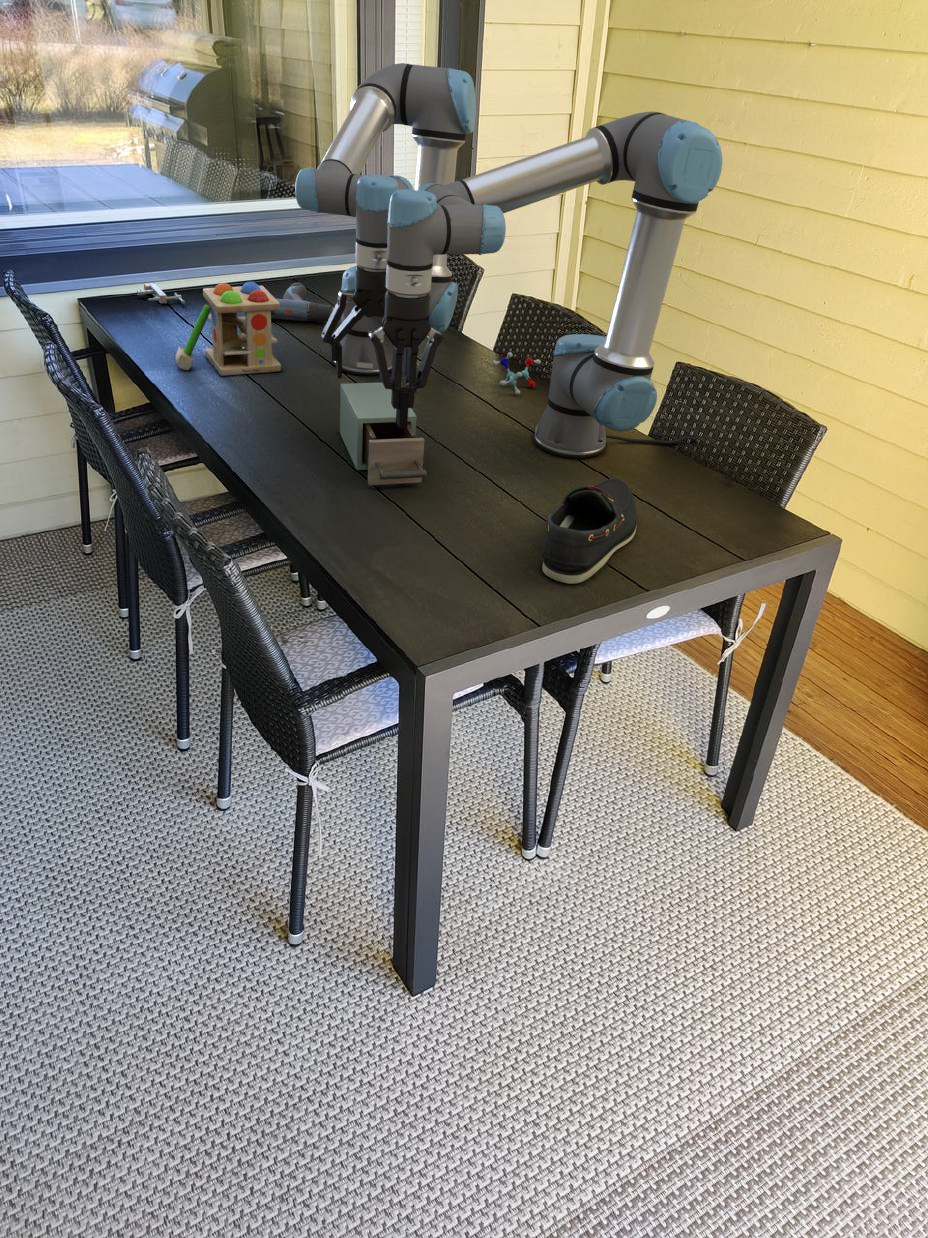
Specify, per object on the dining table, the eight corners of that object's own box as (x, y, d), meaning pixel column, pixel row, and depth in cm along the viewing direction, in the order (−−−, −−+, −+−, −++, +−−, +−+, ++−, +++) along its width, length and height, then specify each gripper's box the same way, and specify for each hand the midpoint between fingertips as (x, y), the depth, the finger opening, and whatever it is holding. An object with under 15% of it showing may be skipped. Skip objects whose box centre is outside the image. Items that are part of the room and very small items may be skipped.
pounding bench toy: (183, 379, 220) (176, 299, 210) (169, 357, 231) (162, 280, 221) (282, 371, 230) (280, 294, 220) (264, 350, 240) (262, 276, 230)
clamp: (132, 284, 268) (169, 281, 272) (133, 292, 269) (170, 289, 273) (148, 300, 257) (185, 297, 262) (148, 309, 259) (186, 306, 263)
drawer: (429, 496, 182) (432, 453, 177) (375, 499, 179) (377, 456, 174) (401, 446, 199) (403, 405, 194) (352, 448, 196) (352, 407, 191)
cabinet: (413, 467, 194) (416, 416, 188) (356, 470, 190) (357, 418, 184) (393, 430, 207) (395, 382, 201) (339, 432, 204) (340, 383, 198)
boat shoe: (659, 521, 184) (668, 470, 179) (580, 590, 160) (587, 533, 155) (597, 502, 190) (604, 452, 184) (512, 566, 166) (517, 511, 160)
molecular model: (536, 387, 225) (523, 344, 224) (499, 400, 229) (485, 359, 227) (549, 385, 235) (536, 345, 234) (513, 399, 239) (500, 359, 238)
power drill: (344, 304, 276) (335, 327, 259) (277, 298, 275) (264, 321, 258) (344, 285, 273) (335, 306, 256) (277, 279, 272) (264, 300, 255)
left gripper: (312, 272, 177) (313, 384, 189) (444, 272, 184) (437, 379, 196) (305, 260, 183) (307, 369, 195) (434, 260, 190) (427, 366, 202)
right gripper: (374, 298, 158) (370, 434, 171) (452, 298, 161) (441, 431, 175) (364, 284, 164) (361, 417, 177) (439, 284, 167) (431, 414, 180)
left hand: (372, 375), depth 196 cm, fingers open, 13 cm apart
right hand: (401, 424), depth 176 cm, fingers closed
